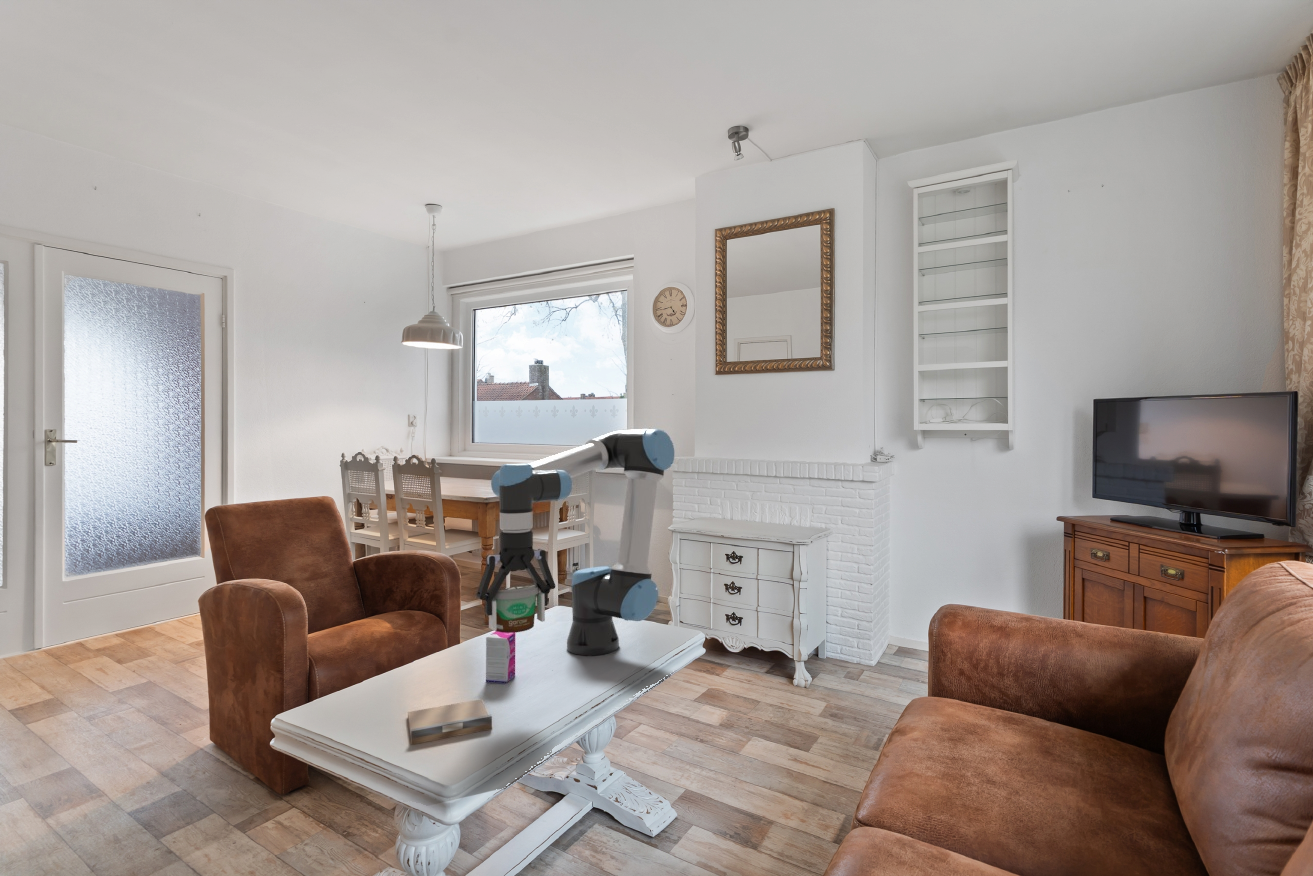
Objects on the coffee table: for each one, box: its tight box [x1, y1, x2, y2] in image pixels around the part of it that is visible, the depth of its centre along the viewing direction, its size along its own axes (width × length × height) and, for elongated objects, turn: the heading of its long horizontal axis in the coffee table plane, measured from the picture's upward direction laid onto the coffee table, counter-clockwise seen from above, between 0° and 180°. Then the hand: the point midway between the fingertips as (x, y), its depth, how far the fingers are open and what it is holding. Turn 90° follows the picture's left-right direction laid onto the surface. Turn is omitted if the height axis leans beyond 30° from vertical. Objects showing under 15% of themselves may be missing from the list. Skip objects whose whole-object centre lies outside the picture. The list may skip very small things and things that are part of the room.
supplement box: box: [485, 630, 516, 684], centre depth 165 cm, size 6×6×12 cm
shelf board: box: [407, 698, 493, 745], centre depth 140 cm, size 16×14×3 cm
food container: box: [493, 581, 540, 634], centre depth 150 cm, size 12×6×10 cm, turn 128°
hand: (517, 624), depth 150 cm, fingers closed on food container, 11 cm apart
